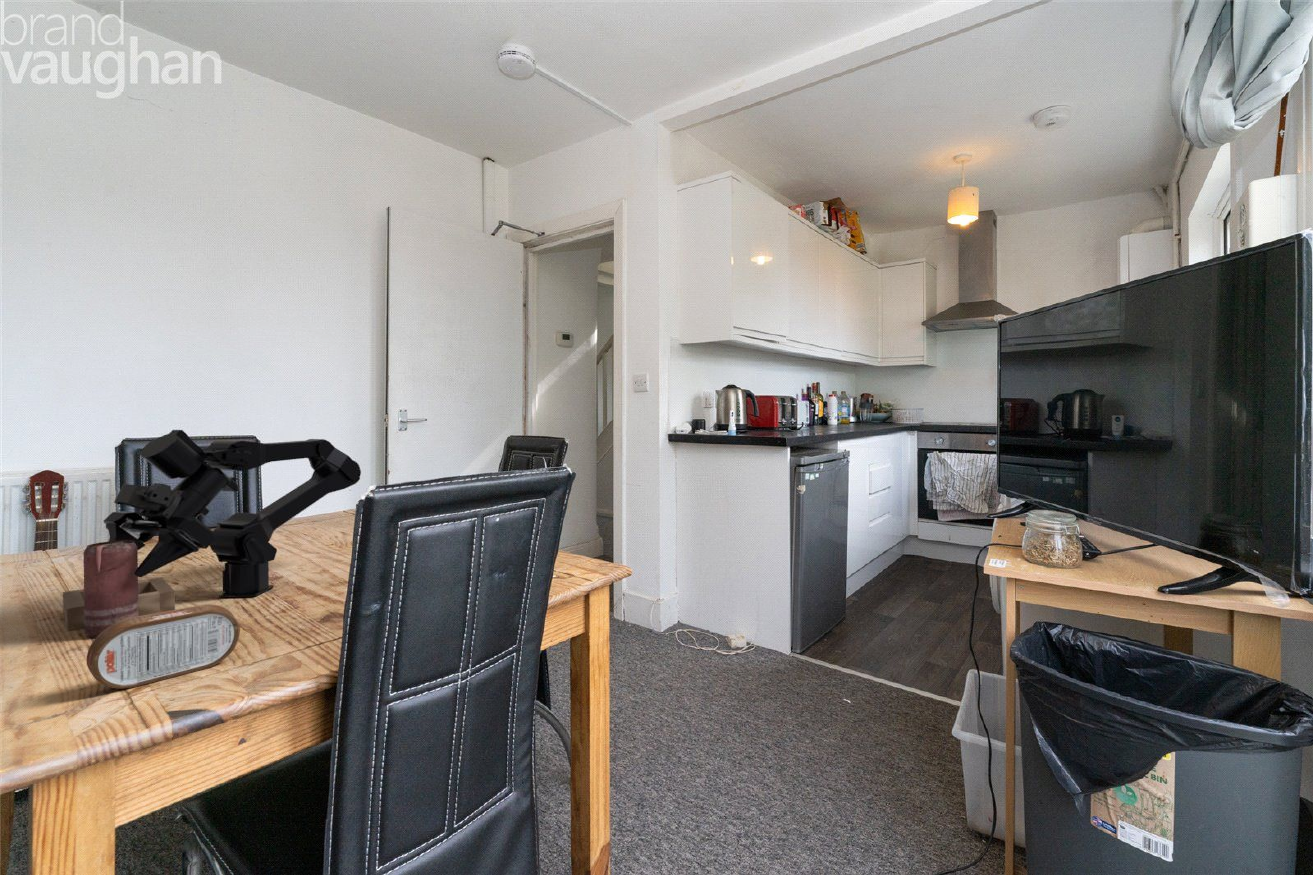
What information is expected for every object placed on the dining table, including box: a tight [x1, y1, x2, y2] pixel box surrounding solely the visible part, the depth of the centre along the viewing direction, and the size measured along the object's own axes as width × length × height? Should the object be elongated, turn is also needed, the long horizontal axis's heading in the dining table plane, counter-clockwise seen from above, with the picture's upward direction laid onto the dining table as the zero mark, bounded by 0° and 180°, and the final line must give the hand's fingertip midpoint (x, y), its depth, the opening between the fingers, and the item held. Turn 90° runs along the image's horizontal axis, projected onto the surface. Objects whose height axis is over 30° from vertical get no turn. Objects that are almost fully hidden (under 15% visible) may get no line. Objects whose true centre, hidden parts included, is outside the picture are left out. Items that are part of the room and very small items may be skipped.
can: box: [82, 540, 139, 639], centre depth 89 cm, size 6×6×14 cm
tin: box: [86, 604, 241, 690], centre depth 73 cm, size 15×3×8 cm, turn 140°
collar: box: [62, 577, 176, 632], centre depth 98 cm, size 13×13×4 cm
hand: (117, 573), depth 89 cm, fingers open, 9 cm apart
